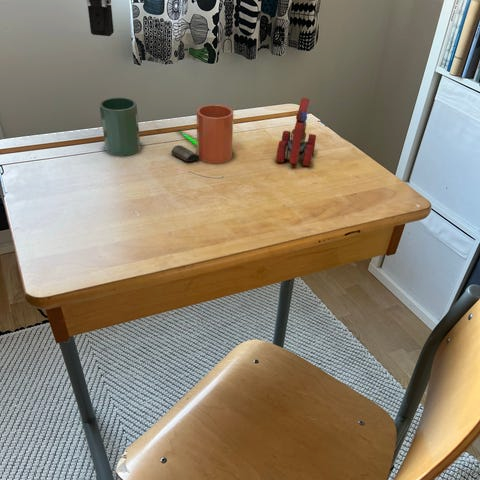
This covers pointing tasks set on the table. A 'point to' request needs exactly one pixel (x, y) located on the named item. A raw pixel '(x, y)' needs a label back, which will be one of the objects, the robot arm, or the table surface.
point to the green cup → (120, 126)
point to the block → (184, 153)
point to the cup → (214, 133)
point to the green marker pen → (190, 139)
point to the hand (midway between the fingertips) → (102, 33)
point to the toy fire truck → (297, 140)
